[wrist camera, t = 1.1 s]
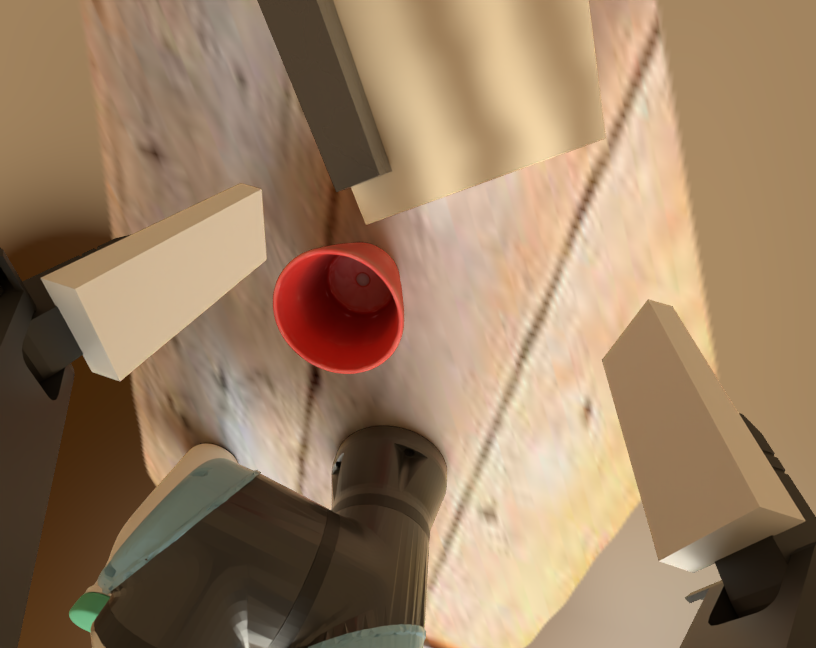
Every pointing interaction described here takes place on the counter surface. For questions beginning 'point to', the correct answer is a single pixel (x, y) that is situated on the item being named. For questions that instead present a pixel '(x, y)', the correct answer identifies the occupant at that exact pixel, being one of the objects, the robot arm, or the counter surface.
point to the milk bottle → (94, 597)
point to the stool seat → (470, 91)
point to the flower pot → (341, 307)
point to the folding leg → (328, 88)
